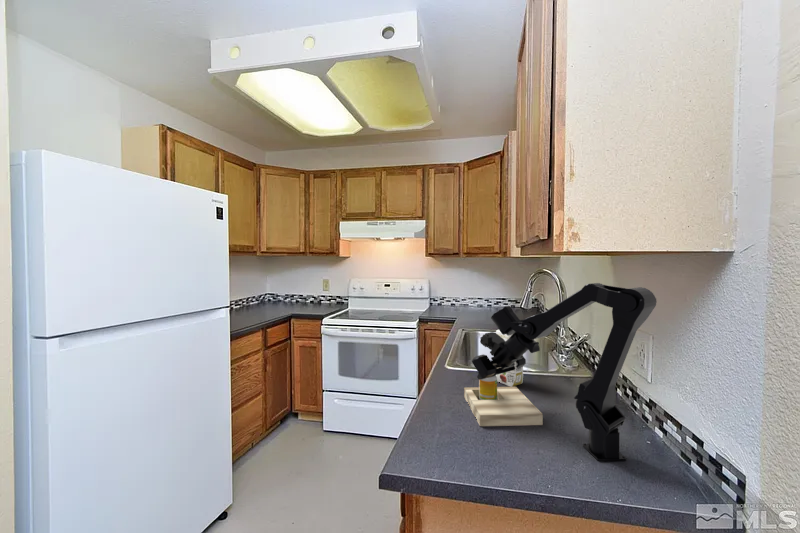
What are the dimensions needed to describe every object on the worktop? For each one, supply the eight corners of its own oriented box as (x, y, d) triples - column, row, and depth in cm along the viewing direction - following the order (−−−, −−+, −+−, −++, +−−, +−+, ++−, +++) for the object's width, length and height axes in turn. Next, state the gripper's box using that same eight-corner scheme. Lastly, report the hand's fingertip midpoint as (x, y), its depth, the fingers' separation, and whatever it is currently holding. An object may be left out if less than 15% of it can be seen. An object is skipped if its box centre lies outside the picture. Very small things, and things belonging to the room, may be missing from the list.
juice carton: (512, 388, 120) (512, 333, 119) (492, 381, 127) (492, 329, 127) (525, 383, 124) (525, 331, 124) (506, 377, 131) (506, 327, 131)
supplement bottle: (498, 402, 104) (498, 370, 104) (480, 402, 105) (479, 370, 104) (495, 395, 109) (495, 365, 109) (478, 395, 110) (477, 365, 110)
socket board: (542, 424, 93) (542, 413, 93) (480, 426, 93) (480, 415, 93) (515, 395, 113) (515, 386, 113) (464, 396, 113) (464, 387, 113)
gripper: (517, 321, 109) (489, 349, 118) (476, 329, 98) (449, 359, 107) (540, 351, 103) (509, 378, 112) (499, 363, 92) (469, 392, 101)
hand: (484, 376), depth 108 cm, fingers closed on supplement bottle, 5 cm apart
